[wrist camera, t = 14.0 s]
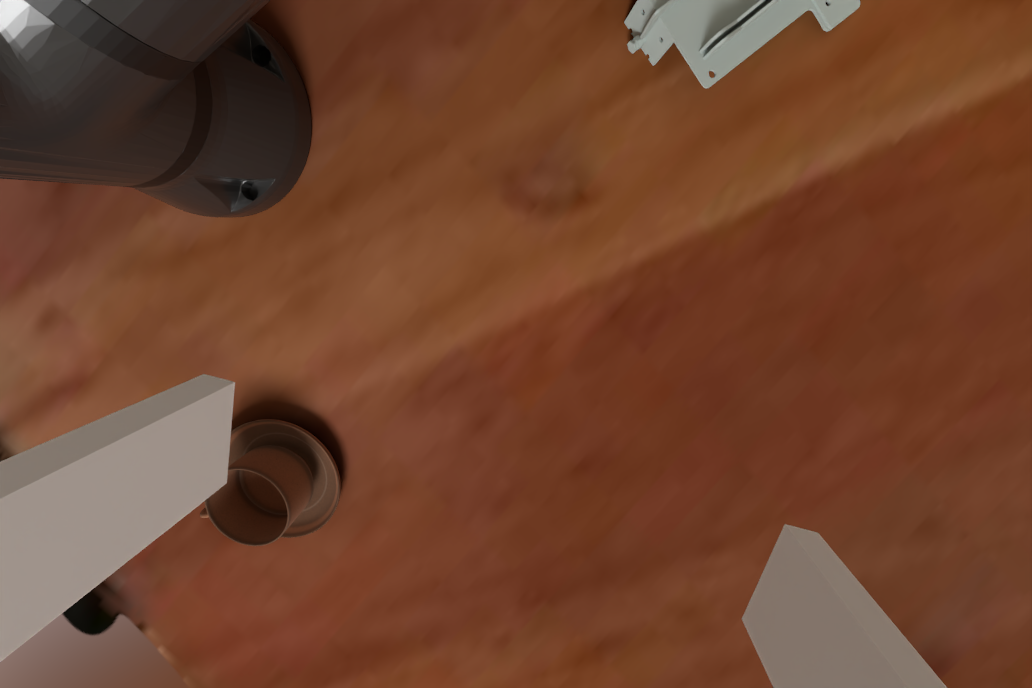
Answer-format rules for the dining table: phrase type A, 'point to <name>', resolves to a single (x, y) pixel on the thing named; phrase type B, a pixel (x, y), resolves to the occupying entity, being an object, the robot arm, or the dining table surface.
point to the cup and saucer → (274, 484)
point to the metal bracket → (721, 28)
